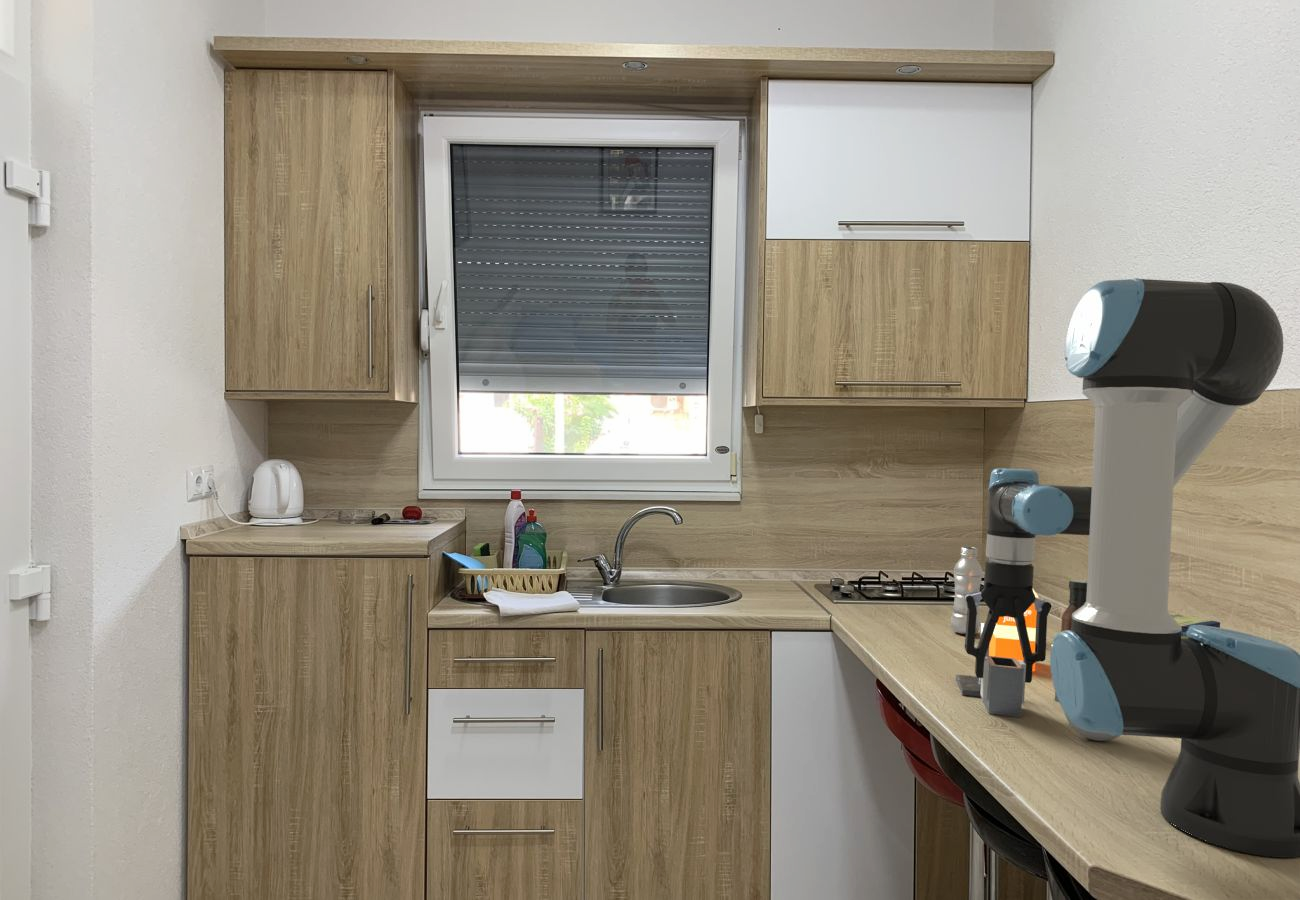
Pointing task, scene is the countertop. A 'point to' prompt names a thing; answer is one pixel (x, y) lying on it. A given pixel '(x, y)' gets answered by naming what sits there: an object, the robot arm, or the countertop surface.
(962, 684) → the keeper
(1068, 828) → the countertop surface
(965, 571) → the plastic bottle
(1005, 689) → the grey rectangular holder
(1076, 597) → the sauce bottle
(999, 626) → the orange juice
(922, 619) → the countertop surface
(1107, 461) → the robot arm
